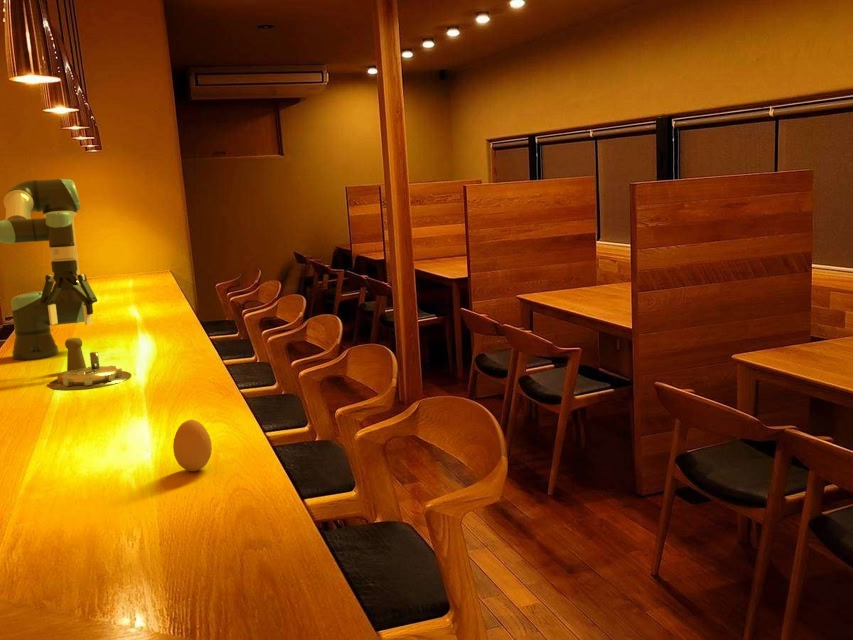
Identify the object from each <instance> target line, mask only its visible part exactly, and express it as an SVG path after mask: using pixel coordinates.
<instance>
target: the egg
mask: <svg viewBox="0 0 853 640" xmlns="http://www.w3.org/2000/svg"><path fill="white" fill-rule="evenodd" d="M172 443H173V445H172V446H173V447H172V448H173V450H172V451H173V456H174V457H175V458H174V459H175V460H176V462H177V464H178V465H179V466H180V467H181V468H182V469H184V470H186V471H188V472H198V471H201V470H202V469H203V468H205V466H206V465H207V464H208V463H209V460H210V459H211V456H212V450H213V447H212V440H211V436H210V434H209V432H208V430H207V429H206V427H205V426H204V425H203V423H201V422H200V421H198V420H195V419H188V420H185V421H184V422H182V423H181V424H180V426H178V429H177V430H176V432H175V435H174V438H173V442H172ZM197 470H198V471H197Z"/></svg>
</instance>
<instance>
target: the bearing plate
mask: <svg viewBox="0 0 853 640" xmlns="http://www.w3.org/2000/svg"><path fill="white" fill-rule="evenodd" d="M131 377H132V373H131V372H128V371H125V370H122V376H117V377H116V378H115V380H112V381H105V382H101V383H95V384H93V385H86V386H85V385H70V386H63V382H61V383H58V380H57V378H56V379H54V380H52V381H50V382H49V383H47V384H46V387H49V388H50V389H53V390H58V391H79V390H82V391H83V390H91V389H97V388H104V387H109V386H113V385H116V384H120V383H122V382H125V381H127V380H129V379H131Z"/></svg>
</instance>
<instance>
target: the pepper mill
mask: <svg viewBox="0 0 853 640" xmlns="http://www.w3.org/2000/svg"><path fill="white" fill-rule="evenodd" d="M64 346H65V348H66V349H67V355H66V357H67V359H66V360H67V362H66V364H67V365H66V371H69V370H77V369H82V368H87V365H86V360H85V357H84V353H83V350H82V346H83V340H82V339H81V338H80V337H72V338H71V337H70V338H68V339H66V340H65V342H64Z"/></svg>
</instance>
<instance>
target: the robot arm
mask: <svg viewBox="0 0 853 640" xmlns="http://www.w3.org/2000/svg"><path fill="white" fill-rule="evenodd" d="M3 206H4V208H5V218H4V219H3V220H0V243H1V244H10V245H11V244H12V245H13V244H21V243H33V242H48V246H49V247H48V248H49V255H50V260H52V261H51V262H50V265H51V271H52V273H53V274H46V275H45V277H44V278H45V282H44V283H45V284H44V286H43V289H41V290H35V291H34V290H33V291H30V292H24V293H21V294H17V295H15V296H14V297H12V298H11V301H10V303H11V309H10V310H11V313H12V318H13V319H12V320H13V327H14V335H15V337H14V342H13V349H12V353H11V354H12V359H14V360H20V361H25V360H26V361H27V360H36V359H38V360H39V359H44V358H49V357H52V356H56V355H57V354H59V347H58V345H57V344H56V341H55V339H54V337H53V335H52V333H51V326H58V325H60V326H61V325H69V324H79V323H84V325H85V326H89V325H93V313H94V310H93V307H94V306H93V304H94V303H97V302H98V299H97V296H96V295H95V292H94V291H93V289H92V287H91V285H90V284H89V281H88V278H87V274H85V273H82V274H81V271H80V263H79V254H78V253H79V252H78V245H77V236H76V229H75V220H74V219H75V218H76V217H77V216H78V211H81V209H82V208H81V207H82V206H81V203H80V199H79V194H78V190H77V187H76V184H75V182H74V181H73V180H71V179H69V178H67V179H66V178H65V179H64V178H63V179H62V178H55V179H29V180H23V181H21V182H19V183H17V184H15V185H13V186H12V187H10V188H9V189H8V190H7V191H6V192H5V194H4V197H3ZM39 212H40V213H42V214H43V215H42V216H43V217H42V218H31V213H39Z"/></svg>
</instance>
